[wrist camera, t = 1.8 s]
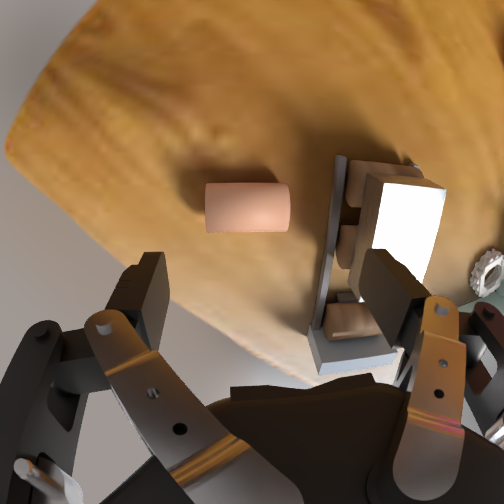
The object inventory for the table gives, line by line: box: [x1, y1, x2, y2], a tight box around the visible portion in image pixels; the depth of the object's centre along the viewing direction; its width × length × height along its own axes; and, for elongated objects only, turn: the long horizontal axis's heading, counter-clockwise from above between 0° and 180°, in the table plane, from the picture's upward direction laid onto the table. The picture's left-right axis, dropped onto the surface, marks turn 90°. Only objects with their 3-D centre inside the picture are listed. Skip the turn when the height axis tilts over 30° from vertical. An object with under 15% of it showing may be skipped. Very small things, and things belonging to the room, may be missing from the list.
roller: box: [205, 183, 290, 233], centre depth 24 cm, size 4×6×4 cm
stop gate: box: [307, 324, 398, 375], centre depth 32 cm, size 2×9×6 cm, turn 89°
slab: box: [348, 172, 447, 302], centre depth 23 cm, size 10×6×3 cm, turn 179°
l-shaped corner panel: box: [458, 248, 504, 316], centre depth 30 cm, size 12×12×8 cm
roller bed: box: [312, 155, 424, 341], centre depth 28 cm, size 19×8×4 cm, turn 179°
